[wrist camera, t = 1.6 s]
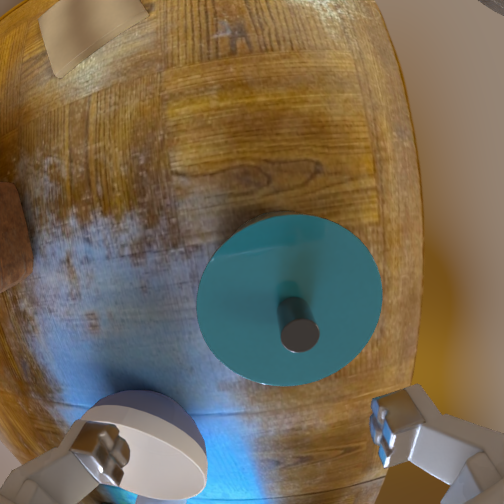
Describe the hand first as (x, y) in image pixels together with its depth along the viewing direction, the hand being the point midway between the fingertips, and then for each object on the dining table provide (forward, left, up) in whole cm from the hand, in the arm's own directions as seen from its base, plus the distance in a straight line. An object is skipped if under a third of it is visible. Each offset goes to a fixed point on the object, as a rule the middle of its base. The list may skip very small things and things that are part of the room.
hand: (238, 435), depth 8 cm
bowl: (+21, +13, -21) cm, 32 cm away
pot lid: (-2, +3, -13) cm, 14 cm away
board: (+3, -34, -21) cm, 40 cm away
